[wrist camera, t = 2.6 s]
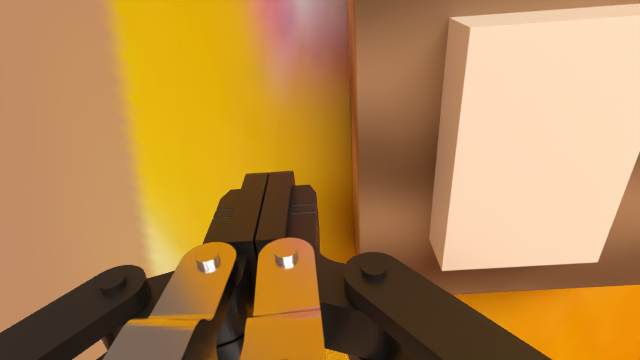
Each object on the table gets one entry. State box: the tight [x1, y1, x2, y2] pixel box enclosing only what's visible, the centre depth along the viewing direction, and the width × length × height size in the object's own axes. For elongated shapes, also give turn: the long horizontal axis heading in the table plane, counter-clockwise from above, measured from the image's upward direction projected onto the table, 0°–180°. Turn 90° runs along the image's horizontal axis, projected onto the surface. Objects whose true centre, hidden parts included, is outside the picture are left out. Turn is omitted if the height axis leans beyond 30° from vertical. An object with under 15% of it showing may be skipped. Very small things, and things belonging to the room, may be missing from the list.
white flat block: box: [429, 4, 640, 271], centre depth 14 cm, size 9×6×2 cm, turn 4°
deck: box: [347, 0, 640, 295], centre depth 16 cm, size 16×14×4 cm
